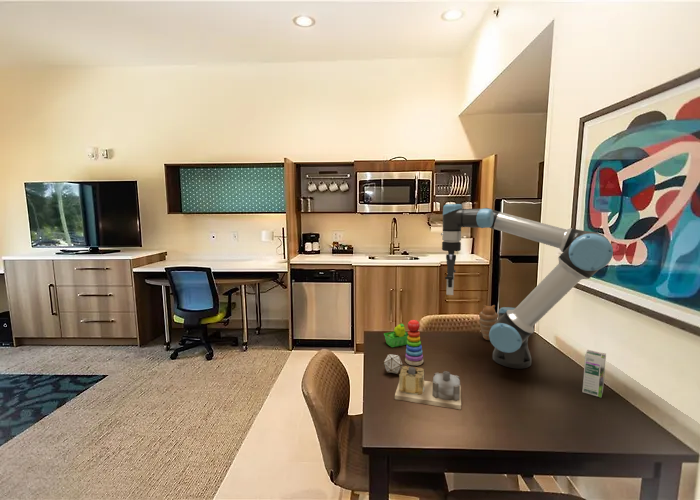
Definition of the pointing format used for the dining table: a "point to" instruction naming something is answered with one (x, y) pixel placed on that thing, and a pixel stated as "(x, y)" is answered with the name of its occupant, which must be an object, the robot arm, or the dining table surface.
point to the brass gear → (411, 381)
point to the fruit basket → (397, 336)
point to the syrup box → (594, 373)
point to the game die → (393, 363)
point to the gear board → (428, 397)
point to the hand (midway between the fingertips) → (450, 290)
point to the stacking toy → (414, 345)
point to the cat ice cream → (487, 320)
